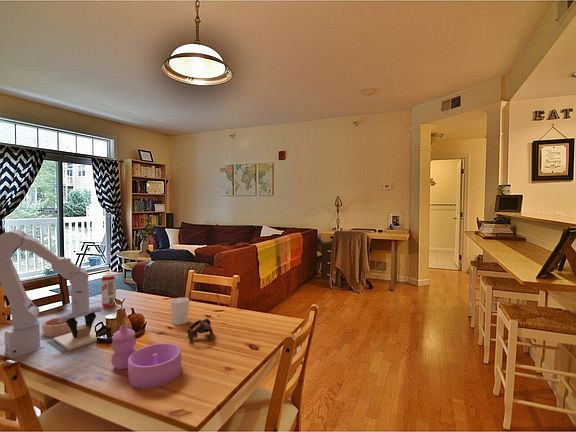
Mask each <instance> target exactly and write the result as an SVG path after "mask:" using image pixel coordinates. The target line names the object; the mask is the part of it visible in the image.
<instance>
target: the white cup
mask: <svg viewBox="0 0 576 432" xmlns="http://www.w3.org/2000/svg"><path fill="white" fill-rule="evenodd" d="M169 303H170V312H171V323H172V324H173V325H177V326H179V325H184V324H187V323H188V322H189V314H190V313H189V311H190V309H189V308H190V299H189V298H188V297H176V298H173V299H171V300H170V302H169Z"/></svg>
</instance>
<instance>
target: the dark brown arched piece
mask: <svg viewBox="0 0 576 432" xmlns="http://www.w3.org/2000/svg"><path fill="white" fill-rule="evenodd" d="M211 325H212V324H211V321H210V319H209V318H205V319H198V320H196V321H195V322H193V323H192V324H191V325H189V328H188V329H187V330H186V334H187V338H188V339H190V340H191V339H194V338H196V339H198V335H199V334H205V333H209V338H210V341H211V340H212V341H213V340H214V339H215V334H214V331H213V329H212V328H213V327H212V326H211ZM197 326H198V327H197ZM194 328H195V329H194ZM198 333H199V334H198Z"/></svg>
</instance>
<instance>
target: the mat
mask: <svg viewBox="0 0 576 432" xmlns="http://www.w3.org/2000/svg"><path fill="white" fill-rule="evenodd" d="M97 342H99V341H94V342H91V343H89V344H86V345H83V346H80V347H77V348H74V349H71V350H67V349H65V348H64V347H62V346H61V345H59V344H58V343H57V342H55V341H54V339H51V340H48V341H46V343H47V344H48V345H49V346H52V347H53V348H54V349H56V350H57V351H59V352H60V353H61V354H66V353H68V352H72V351H74V350H78V349H80V348H83V347H86V346H89V345H92V344H95V343H97Z"/></svg>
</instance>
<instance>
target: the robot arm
mask: <svg viewBox="0 0 576 432" xmlns="http://www.w3.org/2000/svg"><path fill="white" fill-rule="evenodd" d="M18 250H19V251H24V252H25V251H26V252H31V253H33V254H35V255H37V256H38V257H40V258H41V259H43V260H44V261H46V262H47V263H49V264H50V265H51V266H50V267H51V268H50V269H52V270H53V271H54V272H56V273H57V274H59V275H60V276H61V277H63V278H64V279H65V280H69V284H70V285H71V291H70V295H71V296H70V298H71V312H69V313H66V314H63V315H61V316H60V315H59V316H57V317H58V322H59V323H62V322H64V321H66V323H67V324H68V326H69V327H70V329H71V332H70V333H72V335H73V337H74V338H76V337H77V327H78V321H77V319H78V318H82V317H84V323H85V325H87V326H89V333H90V330H91V327H92V326H93V324H94V322H95V319H96V318H97V314H96V313H101V312H103V308H102V307H103V306H99V305H98V306H94V307H90V293H89V292H90V287H89V283H88V282H89V272H88V271H86V269H84V268H82V267H81V266H78V265H76V264H75V263H74V262H72V259H71V258H70V257H67V258H66V257H65V256H57V255H56V254H55V253H54V252H53V251H51V250H50V249H49V248H47V247H46V246H45V245H43V244H42V243H41V242H39V241H38V240H37V239H35V238H34V237H33V236H31V235H29V234H26V232H24V231H23V230H20V229H14V230H10V231H6V232H4V233H1V234H0V286H1V287H2V289H3V291H4V294H5V296H6V298H7V300H8V302H9V304H10V314H11V317H12V318H11V326H12V329H10V330H9V329H8V330H5V332H4V353H5V354H6V355H7V356H8V357H9V358H10V359H14V358H16V357H20V356H23V355H26V354H29V353H33V352H35V351H38V350H42V349H45V346H44V345H43V344H41V337H40V336H41V335H40V321H38V320H39V319H37V318H38V316H39V315H40V308H39V307H38V306H37V305H35V304H34V303H33V300H32V299H31V298H29V296H28V295H27V292H26V289H25V288H24V285H23V283H22V281H21V279H20V276H19V273H18V272H17V270H16V267H15V265H14V262H13V260H12V257H13V256H14V255H15V253H16V252H17V251H18ZM75 318H76V319H75Z"/></svg>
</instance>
